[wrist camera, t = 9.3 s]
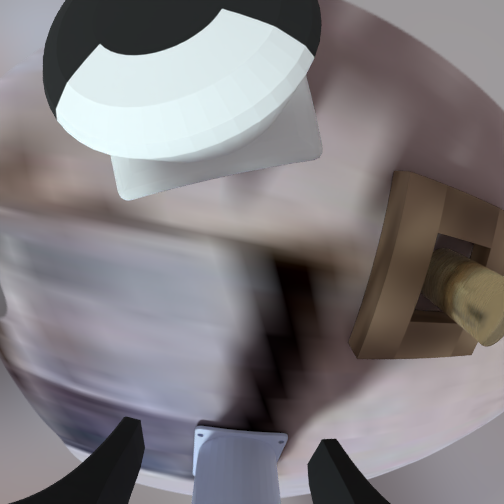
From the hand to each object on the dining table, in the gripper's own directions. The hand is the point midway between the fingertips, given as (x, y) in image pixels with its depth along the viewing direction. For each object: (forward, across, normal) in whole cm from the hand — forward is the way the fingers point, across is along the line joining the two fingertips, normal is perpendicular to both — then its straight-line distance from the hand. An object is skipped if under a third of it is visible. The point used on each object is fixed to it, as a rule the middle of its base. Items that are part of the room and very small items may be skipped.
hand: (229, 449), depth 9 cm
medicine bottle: (+10, +3, -13) cm, 16 cm away
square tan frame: (+9, -14, -6) cm, 18 cm away
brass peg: (+9, -14, -6) cm, 18 cm away
